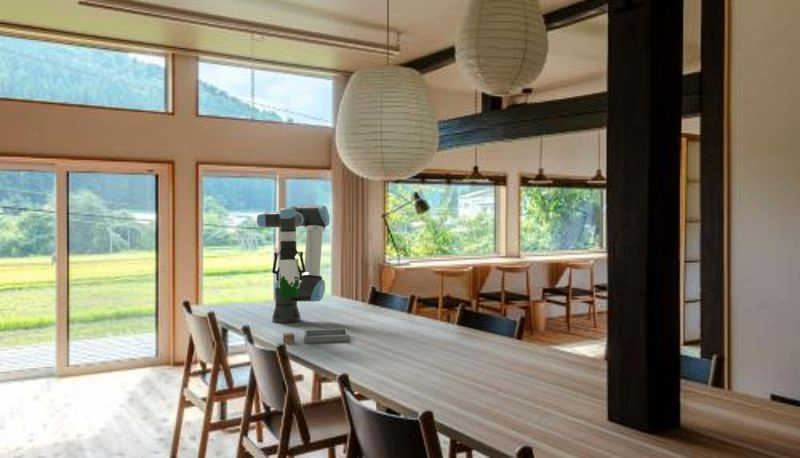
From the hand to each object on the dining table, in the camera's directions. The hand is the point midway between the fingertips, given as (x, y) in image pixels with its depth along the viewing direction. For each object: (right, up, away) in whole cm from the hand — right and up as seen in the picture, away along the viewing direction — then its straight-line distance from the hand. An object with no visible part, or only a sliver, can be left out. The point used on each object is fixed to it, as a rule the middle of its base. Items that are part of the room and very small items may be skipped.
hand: (289, 287), depth 294 cm
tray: (+19, -23, -11) cm, 32 cm away
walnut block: (+3, -24, -17) cm, 29 cm away
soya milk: (0, -5, 0) cm, 5 cm away
